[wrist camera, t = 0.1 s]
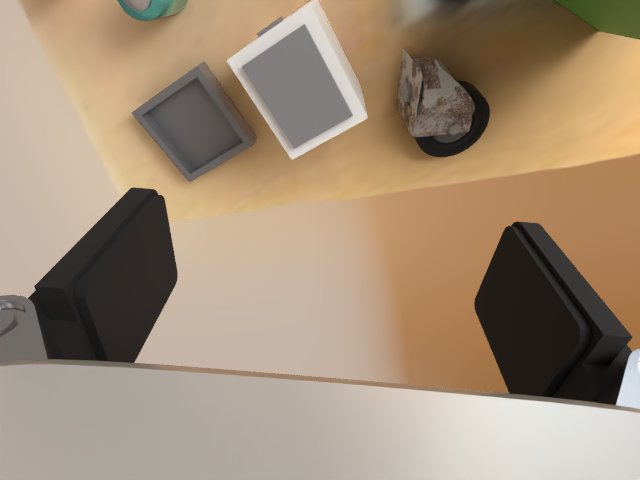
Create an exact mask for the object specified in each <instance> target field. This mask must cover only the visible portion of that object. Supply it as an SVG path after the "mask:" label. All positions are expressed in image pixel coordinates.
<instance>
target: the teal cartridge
mask: <svg viewBox="0 0 640 480" xmlns="http://www.w3.org/2000/svg"><path fill="white" fill-rule="evenodd" d="M118 2H119V4H120V5H121V7H122V8H123V10H124V11H125V12H126V13H127V14H128V15H130V16H131V17H133V18H135V19H137V20H141V21H148V20H152V19H156V18H160V17H165V16H169V15H173V14H177V13H179V12H181V11H182V10H183V9H184V7H185V5H186V3H187V0H118Z"/></svg>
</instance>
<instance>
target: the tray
mask: <svg viewBox="0 0 640 480" xmlns="http://www.w3.org/2000/svg"><path fill="white" fill-rule="evenodd" d="M132 114H133V115H134V117H135V118H136V119H137V120H138V121H139V123H140V124H141V125H142V126H143V127H144V129H145V130H146V131H147V132H148V133H149V134H150V136H151V137H152V138H153V139H154V140H155V142H156V143H157V144H158V145H159V146H160V148H161V149H162V150H163V151H164V152H165V153H166V155H167V156H168V157H169V158H170V159H171V161H172V162H173V163H174V164H175V165H176V167H177V168H178V169H179V170H180V171H181V173H182V174H183V175H184V176H185V177H186V178H187V180H188V181H189V182H190V181H192V180H194V179H196V178H197V177H199V176H201V175H202V174H204V173H206V172H207V171H209V170H211V169H213V168H214V167H216V166H218V165H219V164H221V163H223V162H224V161H226V160H228V159H230V158H231V157H233V156H235V155H236V154H238V153H240V152H241V151H243V150H245V149H247V148H248V147H250V146H252V145H253V144H254V142H255V140H256V138H257V137H256V136H255V134H254V133H253V132H252V130H251V129H250V127H249V126H248V124H247V123H246V121H245V120H244V118H243V117H242V116H241V114H240V113H239V111H238V110H237V108H236V107H235V105H234V104H233V102H232V101H231V100H230V98H229V97H228V95H227V94H226V92H225V91H224V89H223V88H222V86H221V85H220V84H219V82H218V81H217V79H216V78H215V76H214V75H213V73H212V72H211V70H210V69H209V68H208V66H207V65H206V63H205V62H203V63H202V64H200V65H198V66H197V67H196V68H194V69H193V70H191V71H190V72H188V73H187V74H186V75H184V76H183V77H181V78H180V79H179V80H177V81H176V82H174V83H173V84H172V85H170V86H169V87H167V88H166V89H165V90H163V91H162V92H160V93H159V94H157V95H156V96H155V97H153V98H152V99H150V100H149V101H148V102H146V103H145V104H143V105H142V106H141V107H139V108H138V109H136V110H135V111H133V112H132Z"/></svg>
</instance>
